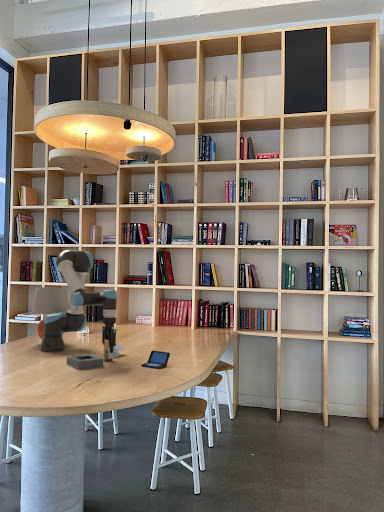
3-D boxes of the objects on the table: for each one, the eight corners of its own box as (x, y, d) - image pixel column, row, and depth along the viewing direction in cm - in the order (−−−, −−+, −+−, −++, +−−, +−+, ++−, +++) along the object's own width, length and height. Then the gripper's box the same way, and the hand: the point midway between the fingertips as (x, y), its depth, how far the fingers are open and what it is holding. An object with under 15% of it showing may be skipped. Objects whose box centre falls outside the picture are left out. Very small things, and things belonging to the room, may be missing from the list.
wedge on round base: (110, 353, 262) (100, 356, 249) (111, 342, 262) (101, 345, 249) (123, 354, 259) (114, 358, 247) (124, 343, 259) (114, 346, 247)
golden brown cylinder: (102, 360, 239) (102, 339, 240) (110, 359, 243) (110, 338, 243) (106, 361, 236) (106, 340, 236) (114, 360, 239) (114, 339, 239)
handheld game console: (140, 366, 226) (140, 353, 227) (151, 363, 236) (151, 350, 236) (159, 369, 220) (159, 355, 221) (170, 366, 230) (170, 352, 230)
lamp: (73, 341, 300) (75, 287, 301) (59, 347, 275) (61, 288, 277) (40, 340, 302) (43, 286, 304) (23, 346, 277) (26, 287, 279)
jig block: (66, 363, 228) (66, 356, 228) (90, 361, 237) (90, 353, 237) (78, 369, 215) (78, 361, 216) (103, 366, 224) (103, 358, 224)
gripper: (96, 315, 245) (95, 355, 244) (111, 318, 231) (109, 361, 230) (108, 315, 250) (107, 354, 248) (123, 318, 235) (121, 359, 234)
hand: (108, 357), depth 239 cm, fingers closed on golden brown cylinder, 5 cm apart
